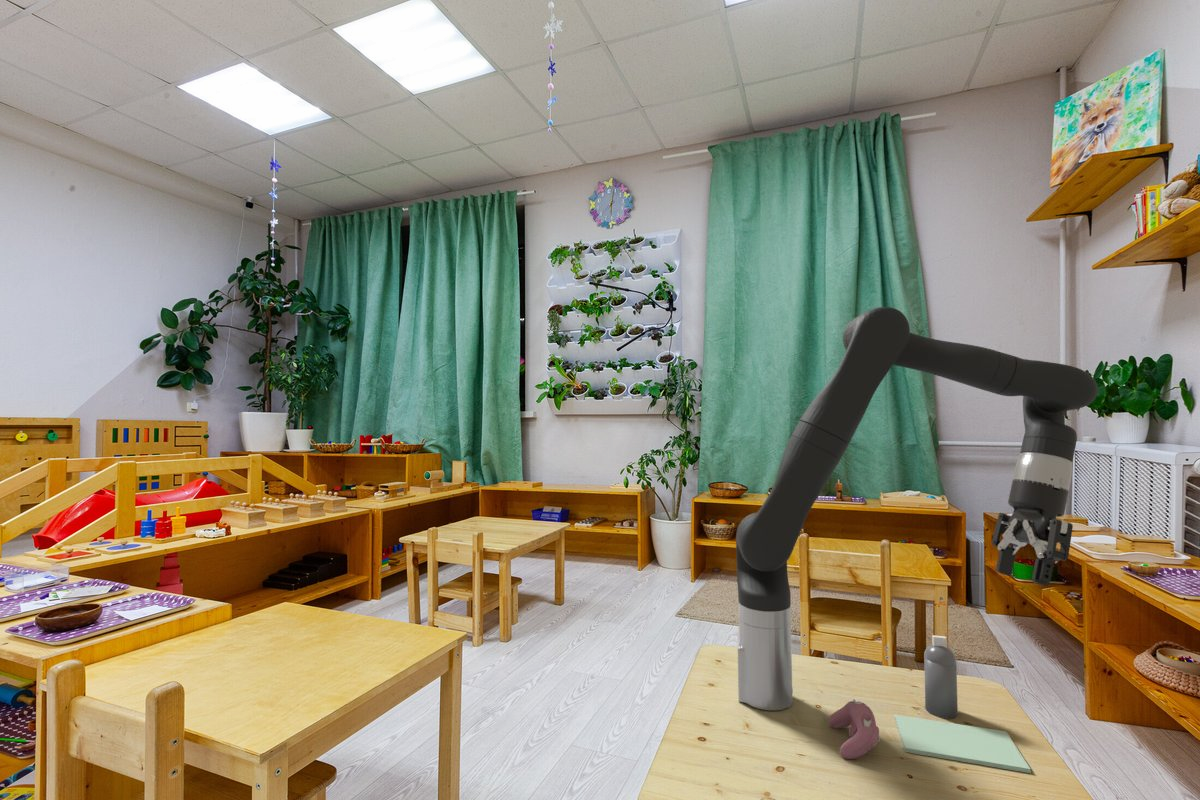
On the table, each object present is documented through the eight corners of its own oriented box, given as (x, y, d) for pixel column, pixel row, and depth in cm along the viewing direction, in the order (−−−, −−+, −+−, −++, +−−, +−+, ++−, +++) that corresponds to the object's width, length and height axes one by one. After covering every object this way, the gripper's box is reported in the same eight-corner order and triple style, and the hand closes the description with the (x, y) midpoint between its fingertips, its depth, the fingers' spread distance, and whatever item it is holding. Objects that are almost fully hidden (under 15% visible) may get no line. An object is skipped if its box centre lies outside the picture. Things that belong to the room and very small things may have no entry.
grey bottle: (928, 715, 95) (926, 640, 96) (922, 702, 100) (920, 630, 100) (961, 720, 94) (959, 643, 94) (953, 706, 98) (951, 633, 99)
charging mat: (905, 751, 85) (905, 747, 85) (894, 718, 95) (894, 714, 95) (1030, 773, 80) (1030, 769, 80) (1006, 735, 89) (1006, 731, 89)
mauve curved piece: (867, 774, 83) (889, 733, 82) (838, 757, 83) (859, 716, 83) (851, 736, 92) (871, 699, 92) (825, 721, 93) (844, 685, 93)
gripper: (990, 477, 101) (971, 565, 99) (1049, 477, 87) (1028, 580, 85) (1032, 489, 101) (1013, 578, 99) (1098, 491, 86) (1078, 595, 85)
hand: (1020, 579), depth 92 cm, fingers open, 8 cm apart
